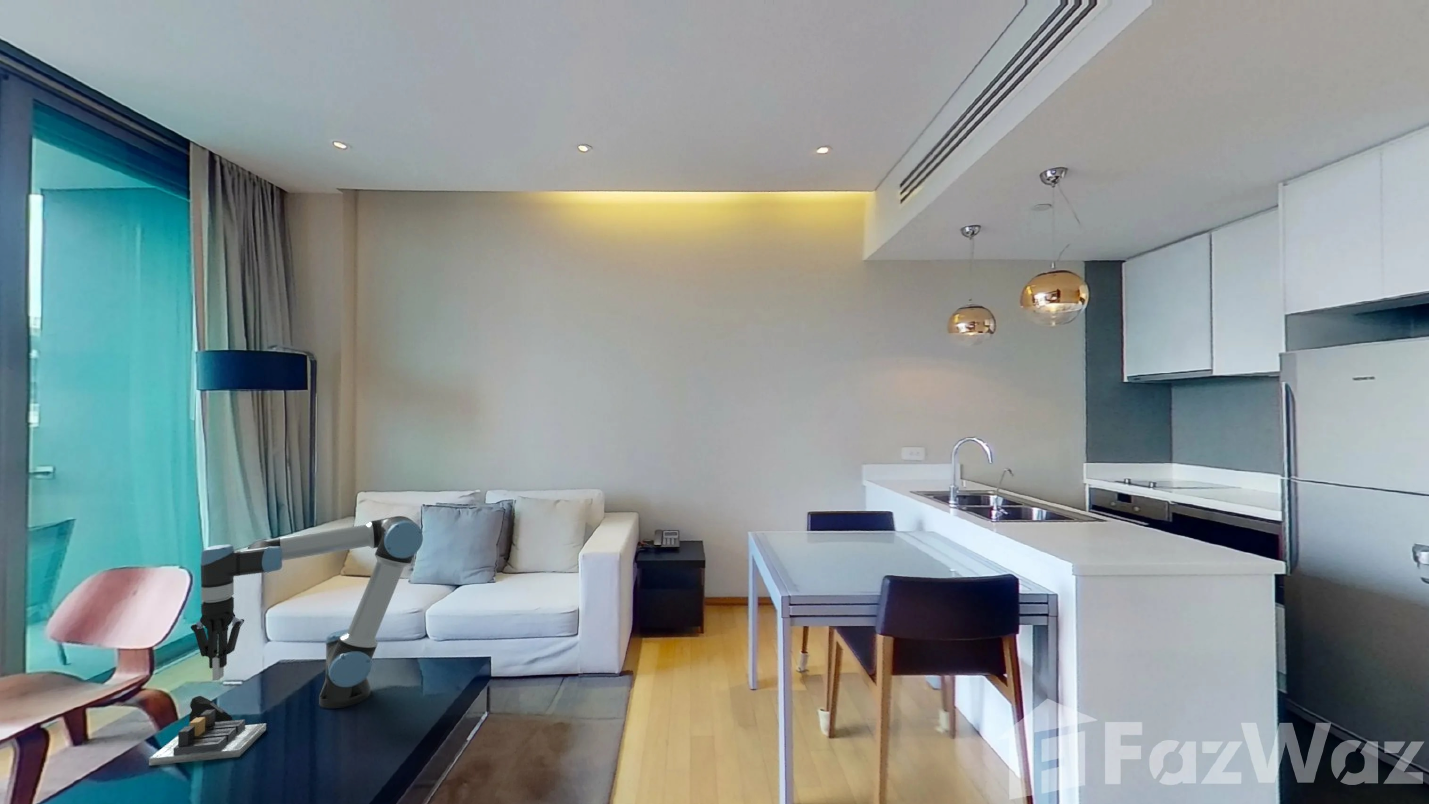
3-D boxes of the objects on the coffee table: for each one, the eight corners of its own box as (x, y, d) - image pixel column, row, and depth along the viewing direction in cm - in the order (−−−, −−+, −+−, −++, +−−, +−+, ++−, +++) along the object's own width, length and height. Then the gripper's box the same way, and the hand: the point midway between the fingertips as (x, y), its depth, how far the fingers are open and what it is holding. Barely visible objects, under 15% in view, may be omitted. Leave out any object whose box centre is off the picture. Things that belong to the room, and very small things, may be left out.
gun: (217, 750, 187) (230, 722, 186) (179, 721, 190) (192, 694, 189) (226, 745, 190) (238, 718, 189) (189, 716, 193) (201, 689, 192)
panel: (265, 729, 189) (266, 703, 189) (239, 756, 174) (239, 728, 174) (183, 737, 184) (184, 710, 184) (149, 765, 169) (149, 736, 169)
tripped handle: (204, 730, 180) (205, 716, 180) (198, 735, 177) (198, 721, 177) (195, 731, 179) (195, 717, 180) (189, 736, 177) (189, 722, 177)
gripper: (249, 593, 185) (250, 670, 185) (200, 596, 182) (200, 675, 182) (235, 600, 178) (236, 681, 177) (183, 604, 175) (184, 686, 175)
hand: (218, 678), depth 180 cm, fingers closed
